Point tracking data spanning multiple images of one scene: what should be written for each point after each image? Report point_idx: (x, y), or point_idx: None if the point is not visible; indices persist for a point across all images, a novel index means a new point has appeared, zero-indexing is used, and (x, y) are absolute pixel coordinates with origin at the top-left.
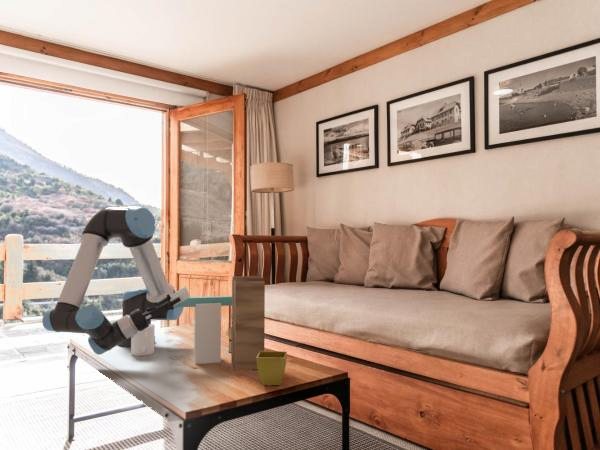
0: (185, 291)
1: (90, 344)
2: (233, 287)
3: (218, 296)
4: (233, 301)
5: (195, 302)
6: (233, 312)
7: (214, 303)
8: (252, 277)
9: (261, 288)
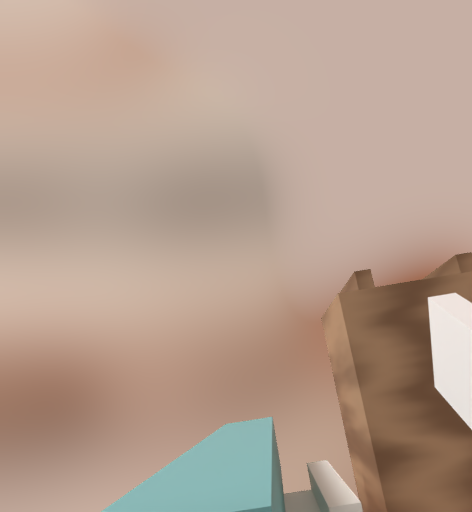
0: (466, 305)
1: None
2: (416, 320)
3: (223, 433)
4: (442, 403)
5: (281, 502)
6: (467, 474)
7: (322, 469)
8: (425, 278)
9: None
